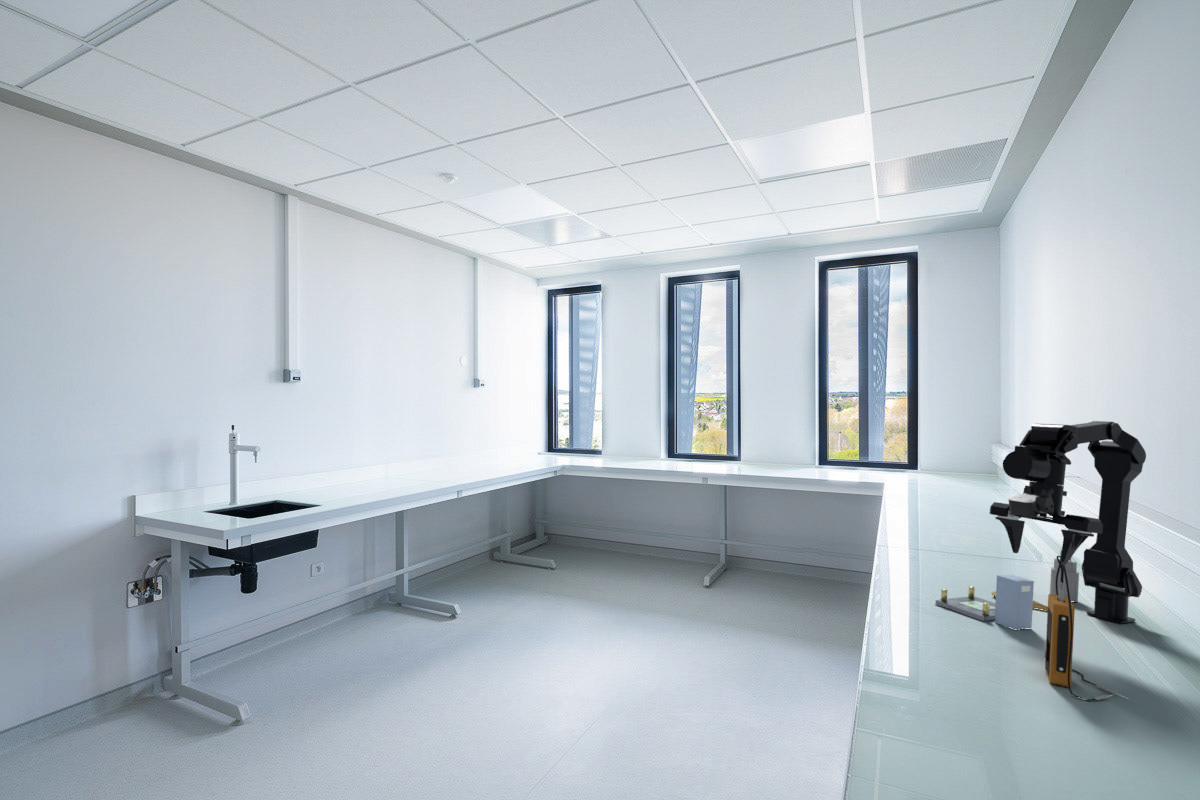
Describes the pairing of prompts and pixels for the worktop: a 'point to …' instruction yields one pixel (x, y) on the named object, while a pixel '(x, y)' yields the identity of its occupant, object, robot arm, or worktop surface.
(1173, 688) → the worktop surface
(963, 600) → the chassis plate
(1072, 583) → the power adapter
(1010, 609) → the block
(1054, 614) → the multimeter
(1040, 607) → the shard
